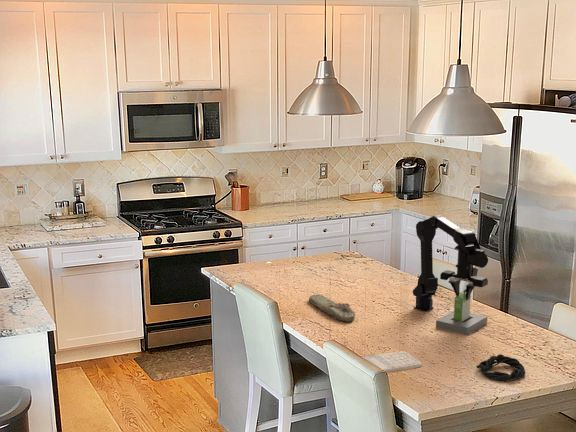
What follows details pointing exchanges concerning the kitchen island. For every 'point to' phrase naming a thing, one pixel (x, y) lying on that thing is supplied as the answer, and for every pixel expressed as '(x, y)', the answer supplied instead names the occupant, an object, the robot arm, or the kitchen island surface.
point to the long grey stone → (333, 308)
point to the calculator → (394, 361)
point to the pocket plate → (461, 323)
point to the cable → (496, 375)
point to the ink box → (461, 307)
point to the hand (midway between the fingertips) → (462, 298)
